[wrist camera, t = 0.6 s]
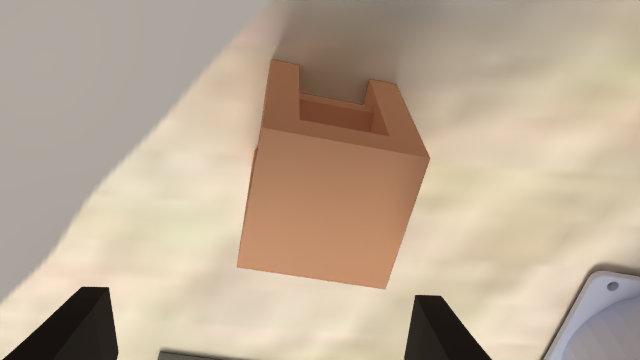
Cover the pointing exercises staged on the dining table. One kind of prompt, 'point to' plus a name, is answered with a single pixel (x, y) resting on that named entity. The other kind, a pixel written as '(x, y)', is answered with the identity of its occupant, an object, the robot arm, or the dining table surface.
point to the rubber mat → (179, 357)
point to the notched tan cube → (331, 183)
